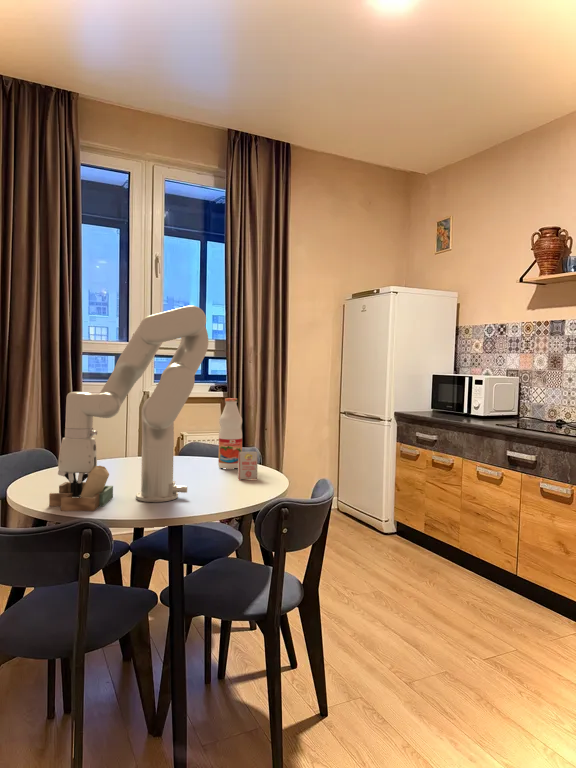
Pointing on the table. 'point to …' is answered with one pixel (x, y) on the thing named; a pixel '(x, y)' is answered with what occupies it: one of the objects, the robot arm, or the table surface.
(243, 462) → the white red box
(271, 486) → the table surface
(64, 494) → the wooden tray
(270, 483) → the table surface
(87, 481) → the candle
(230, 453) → the fruit juice
